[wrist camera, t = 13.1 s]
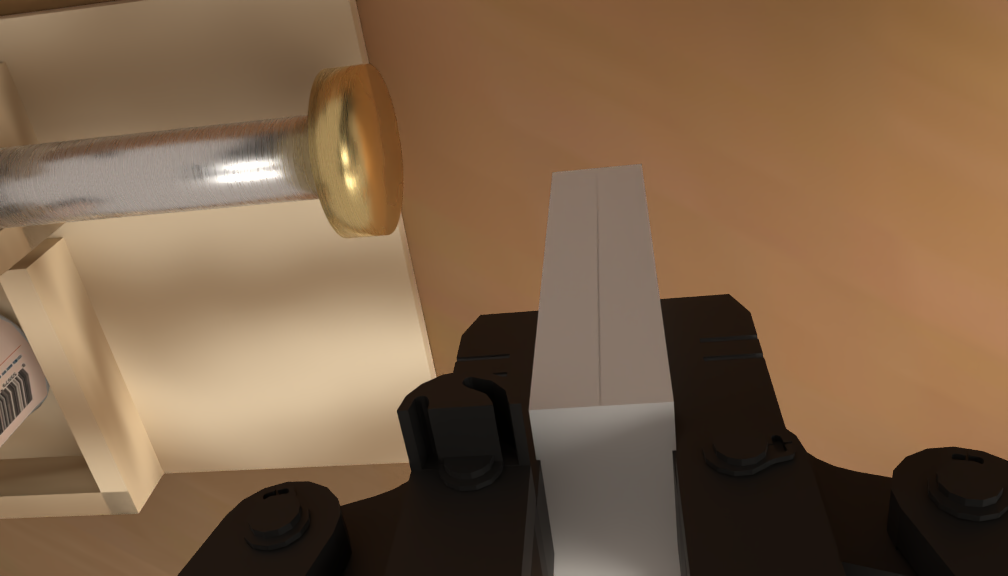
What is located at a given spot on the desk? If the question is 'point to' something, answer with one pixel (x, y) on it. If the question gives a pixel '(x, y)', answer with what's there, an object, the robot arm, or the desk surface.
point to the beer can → (18, 379)
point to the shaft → (226, 165)
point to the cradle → (193, 268)
